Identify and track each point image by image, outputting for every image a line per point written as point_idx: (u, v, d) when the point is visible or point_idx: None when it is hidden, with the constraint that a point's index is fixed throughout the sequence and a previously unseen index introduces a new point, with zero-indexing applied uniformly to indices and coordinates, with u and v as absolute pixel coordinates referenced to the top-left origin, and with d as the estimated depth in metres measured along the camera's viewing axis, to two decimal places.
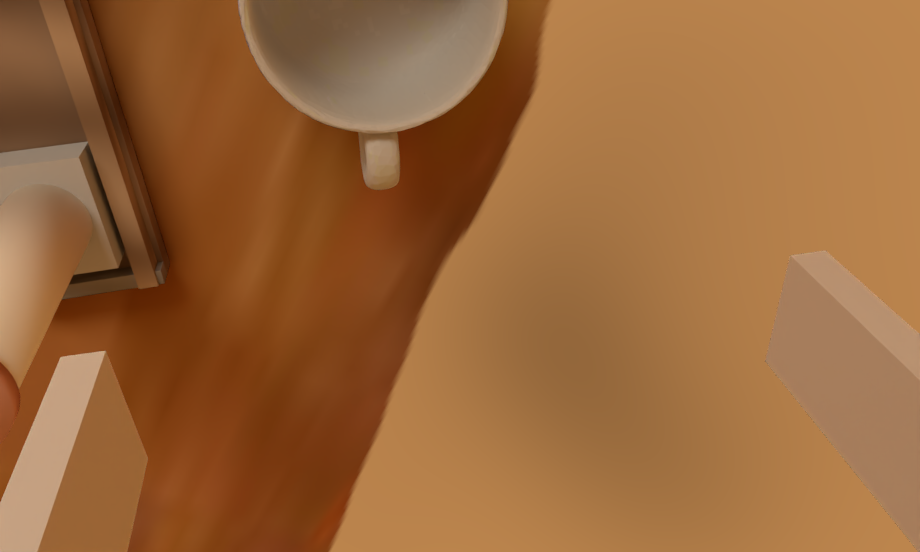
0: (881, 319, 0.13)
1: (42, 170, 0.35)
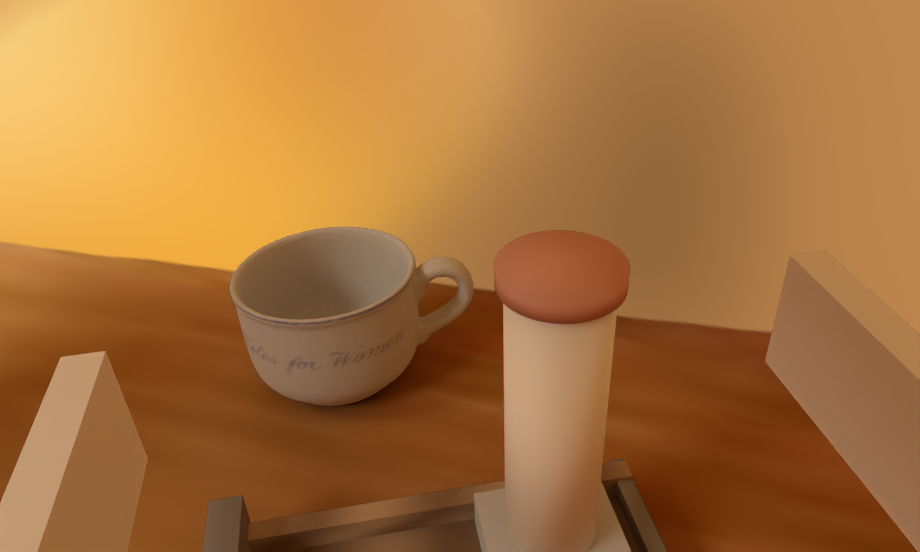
0: (881, 319, 0.13)
1: (489, 522, 0.34)
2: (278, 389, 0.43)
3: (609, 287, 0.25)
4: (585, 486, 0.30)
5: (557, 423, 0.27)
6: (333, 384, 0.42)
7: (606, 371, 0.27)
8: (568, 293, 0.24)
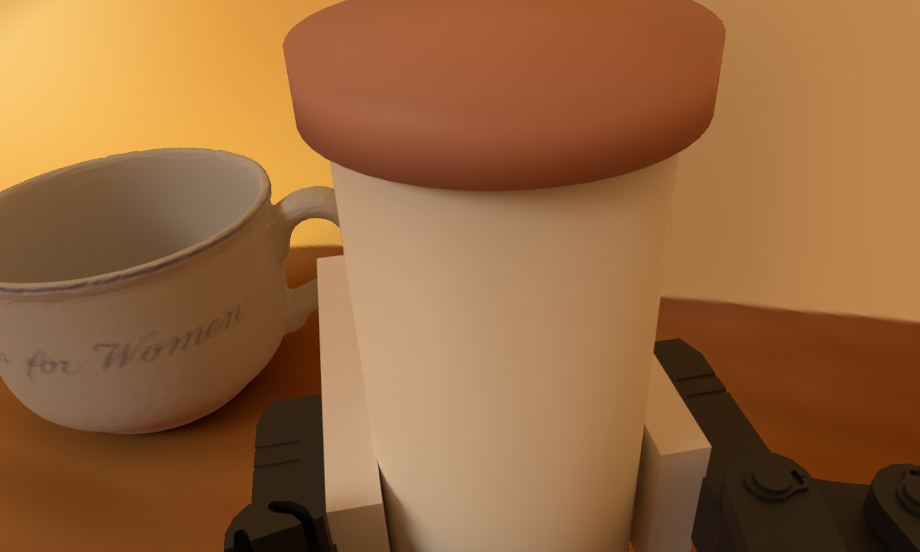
0: None
1: None
2: (29, 408, 0.25)
3: (662, 63, 0.07)
4: None
5: (501, 517, 0.10)
6: (110, 400, 0.24)
7: (641, 368, 0.09)
8: (512, 79, 0.07)
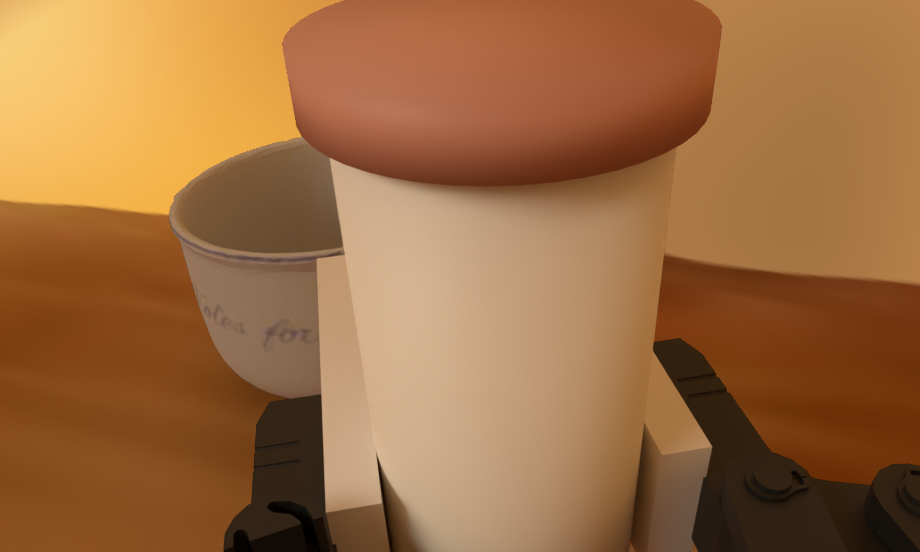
0: None
1: None
2: (250, 378, 0.26)
3: (658, 59, 0.07)
4: None
5: (501, 515, 0.10)
6: None
7: (640, 364, 0.09)
8: (509, 75, 0.07)
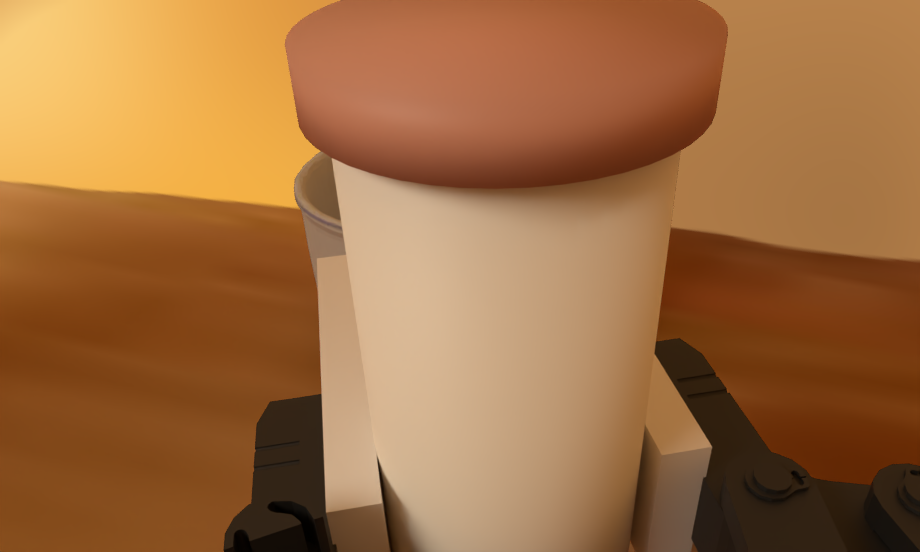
0: None
1: None
2: None
3: (665, 60, 0.07)
4: None
5: (503, 516, 0.10)
6: None
7: (643, 365, 0.09)
8: (517, 76, 0.07)
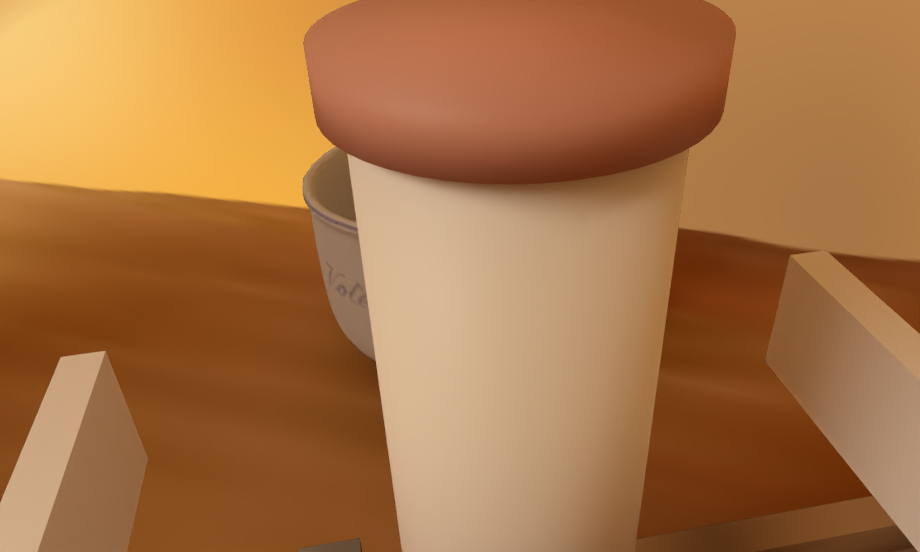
0: (881, 319, 0.13)
1: None
2: None
3: (675, 59, 0.07)
4: None
5: (513, 507, 0.10)
6: None
7: (651, 359, 0.09)
8: (531, 75, 0.07)
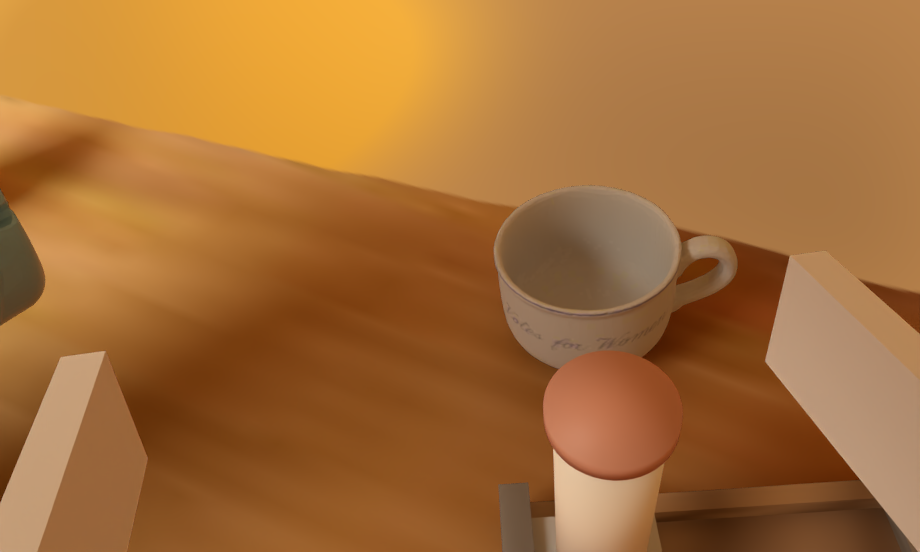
0: (881, 319, 0.13)
1: None
2: (536, 356, 0.45)
3: (655, 448, 0.24)
4: None
5: (600, 531, 0.28)
6: None
7: (652, 494, 0.27)
8: (612, 452, 0.24)
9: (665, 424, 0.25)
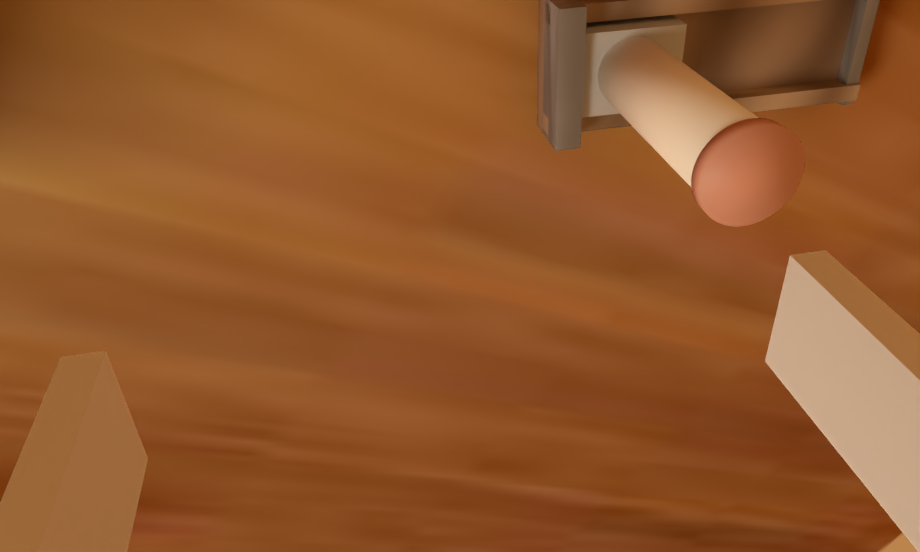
0: (881, 319, 0.13)
1: (587, 65, 0.42)
2: None
3: (770, 210, 0.32)
4: None
5: None
6: None
7: None
8: (739, 214, 0.32)
9: (784, 191, 0.32)
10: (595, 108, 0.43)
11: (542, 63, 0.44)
